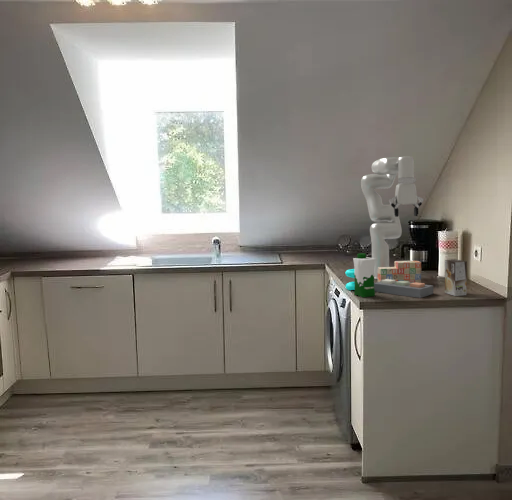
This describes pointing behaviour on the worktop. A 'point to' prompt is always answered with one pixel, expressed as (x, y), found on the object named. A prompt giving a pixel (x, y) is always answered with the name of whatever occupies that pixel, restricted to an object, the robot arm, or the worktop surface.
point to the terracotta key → (417, 285)
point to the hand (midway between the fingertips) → (406, 216)
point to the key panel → (403, 289)
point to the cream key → (388, 281)
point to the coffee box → (456, 277)
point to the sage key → (402, 283)
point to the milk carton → (364, 275)
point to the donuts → (351, 274)
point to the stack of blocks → (401, 272)
